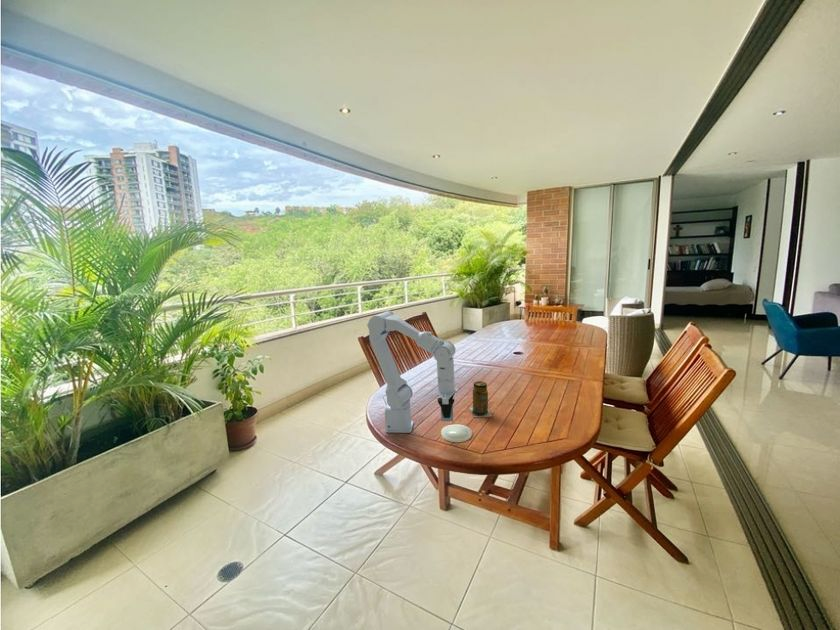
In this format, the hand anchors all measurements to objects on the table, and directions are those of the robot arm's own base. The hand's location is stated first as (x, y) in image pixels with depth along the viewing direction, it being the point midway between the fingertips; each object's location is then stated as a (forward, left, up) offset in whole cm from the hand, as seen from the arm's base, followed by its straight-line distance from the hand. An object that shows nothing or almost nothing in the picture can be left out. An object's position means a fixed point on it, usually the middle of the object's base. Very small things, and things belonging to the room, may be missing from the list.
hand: (447, 414), depth 118 cm
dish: (+3, +2, -9) cm, 10 cm away
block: (0, 0, -2) cm, 2 cm away
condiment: (+12, +19, -9) cm, 24 cm away
